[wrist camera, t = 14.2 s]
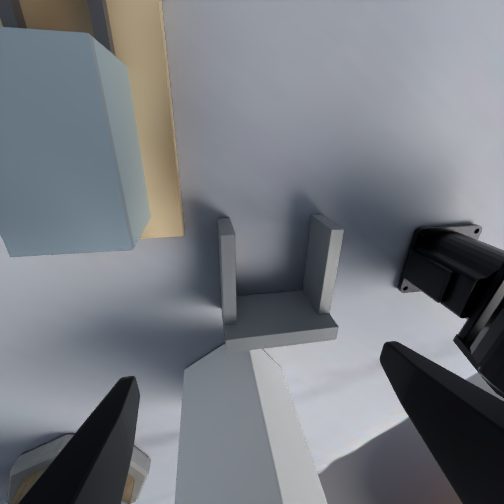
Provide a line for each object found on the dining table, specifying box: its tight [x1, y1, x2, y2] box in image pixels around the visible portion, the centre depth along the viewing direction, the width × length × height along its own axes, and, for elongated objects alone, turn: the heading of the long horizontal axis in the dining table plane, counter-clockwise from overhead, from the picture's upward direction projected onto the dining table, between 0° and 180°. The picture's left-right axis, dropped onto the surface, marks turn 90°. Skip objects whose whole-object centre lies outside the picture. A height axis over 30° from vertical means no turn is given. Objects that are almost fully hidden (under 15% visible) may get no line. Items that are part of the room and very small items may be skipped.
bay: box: [217, 214, 344, 353], centre depth 19 cm, size 8×8×5 cm
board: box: [0, 0, 185, 239], centre depth 14 cm, size 9×16×2 cm, turn 179°
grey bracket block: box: [0, 0, 151, 257], centre depth 11 cm, size 14×5×6 cm, turn 179°
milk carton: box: [175, 344, 327, 504], centre depth 17 cm, size 7×7×19 cm
